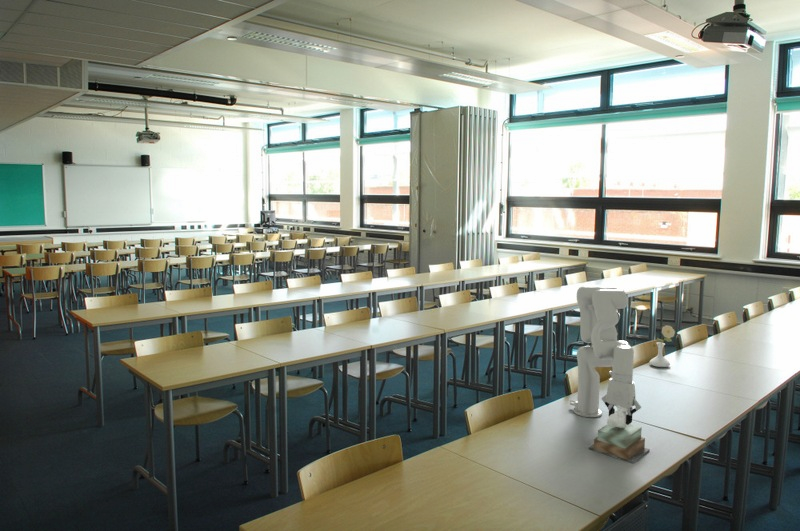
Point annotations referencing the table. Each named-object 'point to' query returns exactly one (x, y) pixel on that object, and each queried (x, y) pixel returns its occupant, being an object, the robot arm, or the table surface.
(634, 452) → the sage layered slab
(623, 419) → the bust
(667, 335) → the flower in vase
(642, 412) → the table surface
